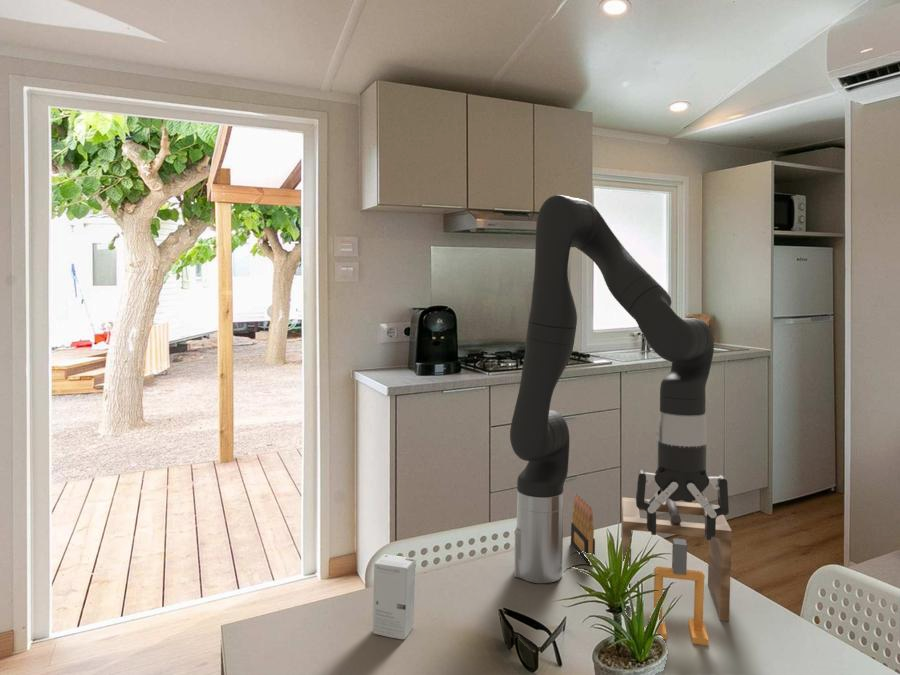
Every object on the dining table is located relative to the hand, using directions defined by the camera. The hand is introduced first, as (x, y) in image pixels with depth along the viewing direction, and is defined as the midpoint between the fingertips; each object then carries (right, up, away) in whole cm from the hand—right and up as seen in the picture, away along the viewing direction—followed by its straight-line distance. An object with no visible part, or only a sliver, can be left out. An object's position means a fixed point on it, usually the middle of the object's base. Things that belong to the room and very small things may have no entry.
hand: (680, 535), depth 102 cm
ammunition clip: (-9, -15, +33) cm, 38 cm away
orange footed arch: (0, -17, +1) cm, 17 cm away
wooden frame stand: (+3, -16, +14) cm, 21 cm away
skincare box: (-48, -17, +1) cm, 51 cm away
